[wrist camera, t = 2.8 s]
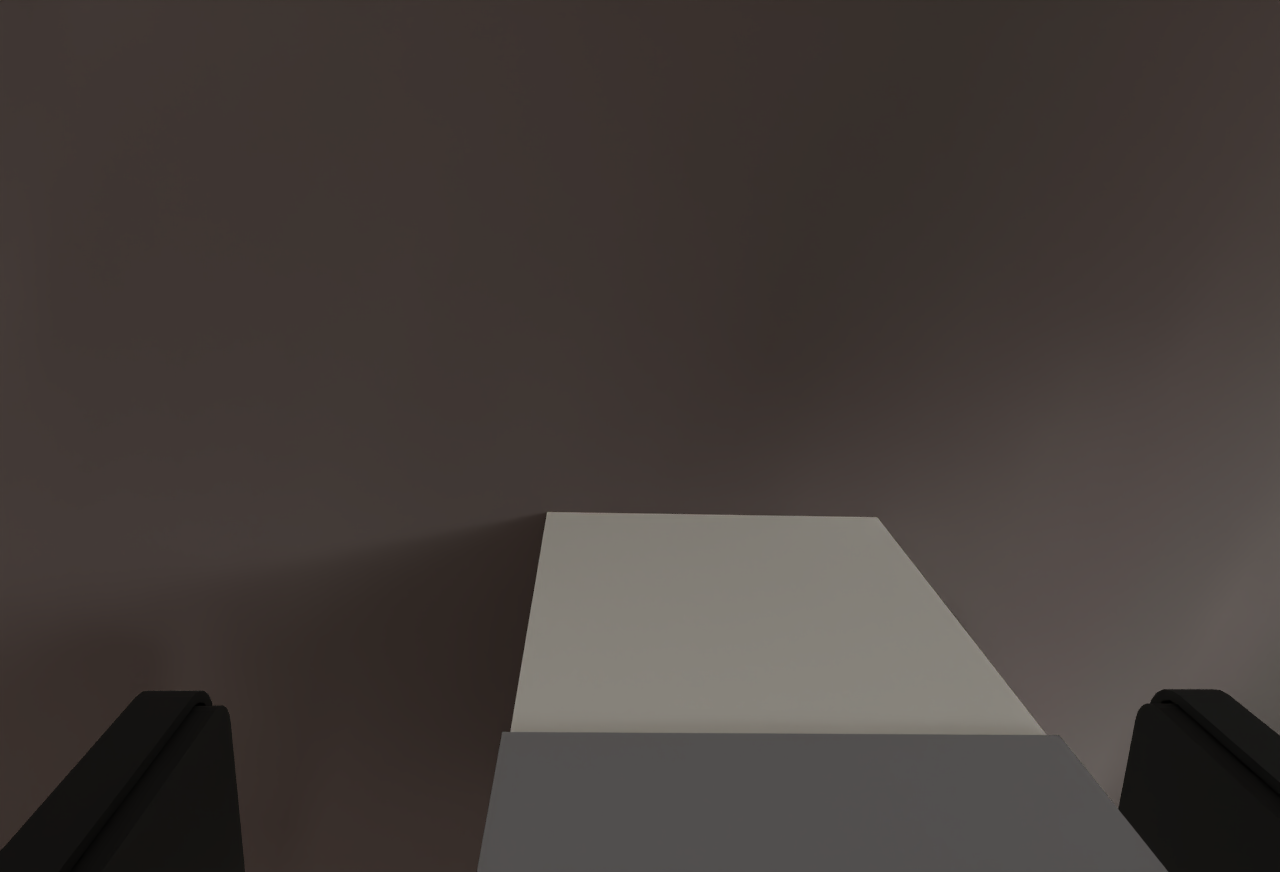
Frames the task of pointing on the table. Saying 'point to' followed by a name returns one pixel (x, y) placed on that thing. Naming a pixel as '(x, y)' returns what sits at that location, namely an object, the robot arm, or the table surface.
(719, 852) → the grey rectangular block
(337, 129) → the table surface
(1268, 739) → the robot arm
